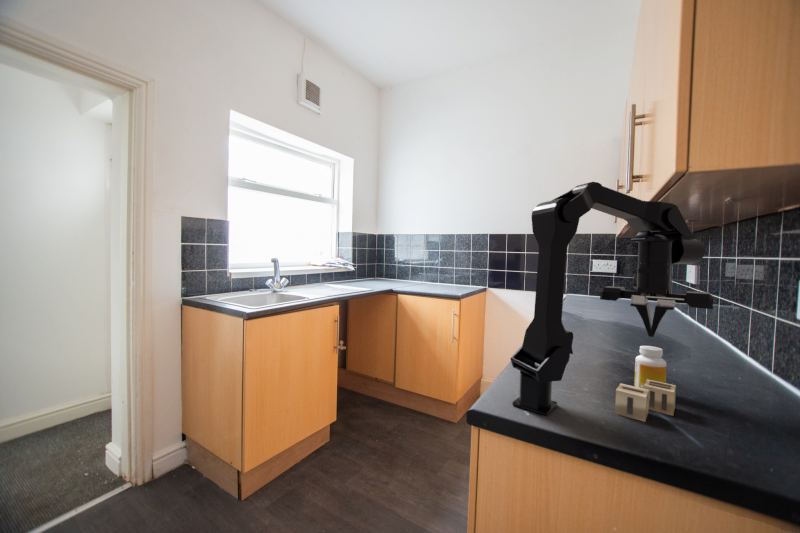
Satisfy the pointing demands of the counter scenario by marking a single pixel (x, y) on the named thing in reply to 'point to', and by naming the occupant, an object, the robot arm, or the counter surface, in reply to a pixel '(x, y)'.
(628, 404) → the oak block one
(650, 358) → the supplement bottle
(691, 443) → the counter surface
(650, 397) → the birch block two
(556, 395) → the counter surface
